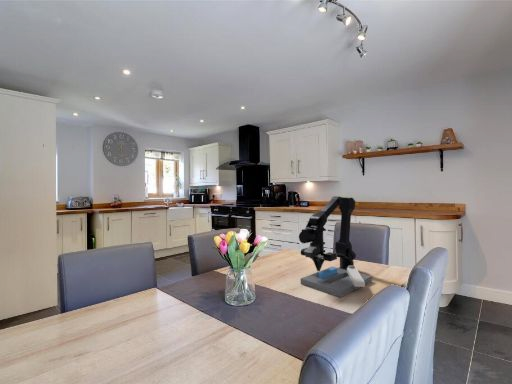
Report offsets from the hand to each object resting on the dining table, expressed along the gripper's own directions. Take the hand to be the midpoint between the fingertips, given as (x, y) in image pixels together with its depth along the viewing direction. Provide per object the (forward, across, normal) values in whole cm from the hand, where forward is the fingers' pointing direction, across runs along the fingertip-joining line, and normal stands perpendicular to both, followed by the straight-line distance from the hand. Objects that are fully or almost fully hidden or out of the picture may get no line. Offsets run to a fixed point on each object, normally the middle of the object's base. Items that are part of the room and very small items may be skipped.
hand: (318, 270), depth 138 cm
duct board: (+3, +10, 0) cm, 11 cm away
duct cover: (0, +17, +5) cm, 18 cm away
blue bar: (+1, +6, 0) cm, 6 cm away
